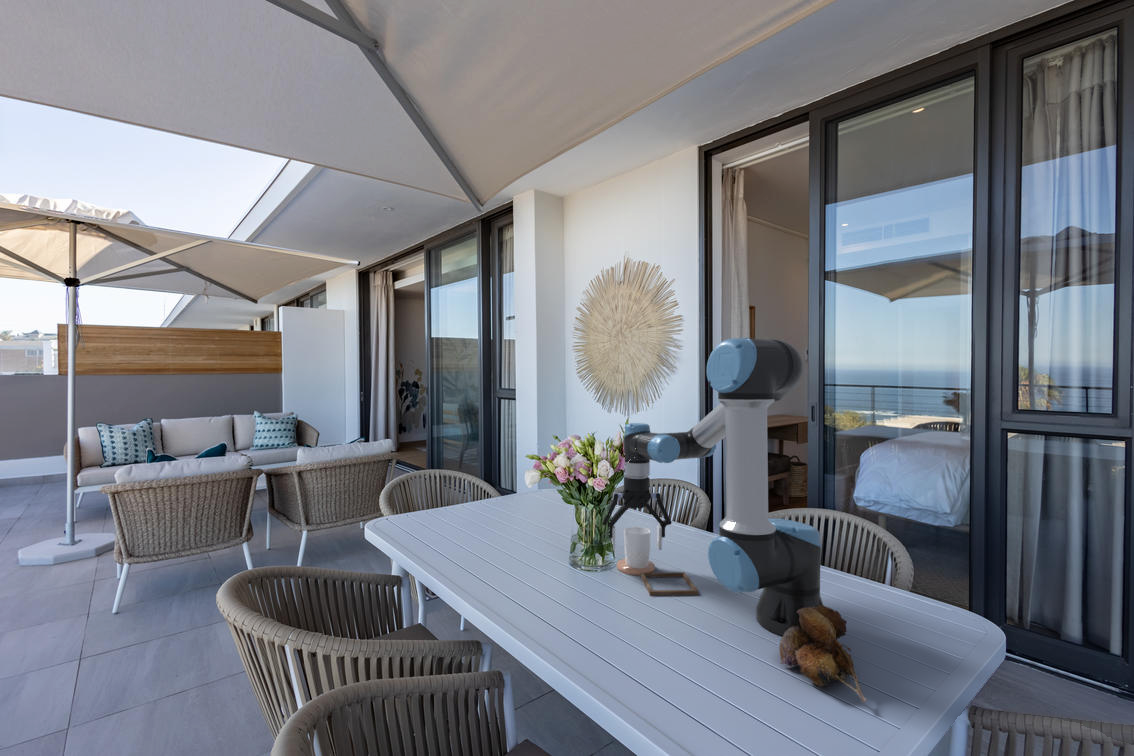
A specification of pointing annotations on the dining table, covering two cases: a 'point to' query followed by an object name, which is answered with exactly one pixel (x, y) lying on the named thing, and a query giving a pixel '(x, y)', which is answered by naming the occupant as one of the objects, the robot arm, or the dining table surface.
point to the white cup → (637, 547)
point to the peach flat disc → (633, 571)
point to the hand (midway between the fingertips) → (636, 548)
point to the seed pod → (819, 647)
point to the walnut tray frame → (669, 592)
